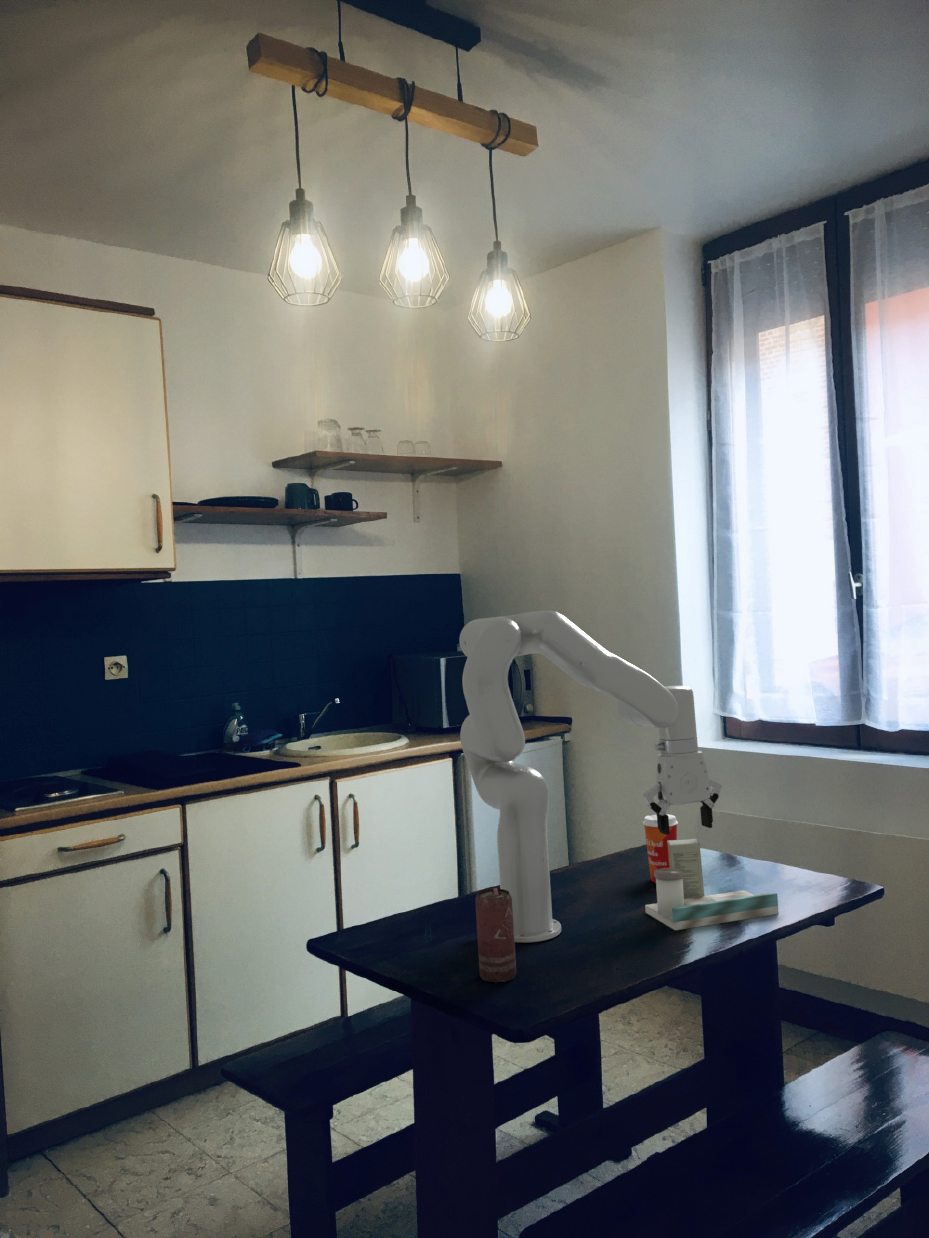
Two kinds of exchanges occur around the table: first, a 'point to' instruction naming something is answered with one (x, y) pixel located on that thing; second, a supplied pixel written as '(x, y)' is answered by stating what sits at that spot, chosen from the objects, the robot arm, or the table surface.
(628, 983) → the table surface
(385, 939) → the table surface
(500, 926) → the can
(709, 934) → the table surface
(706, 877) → the table surface
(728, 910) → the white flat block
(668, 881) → the cream jar
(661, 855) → the paper cup
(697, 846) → the skincare box
